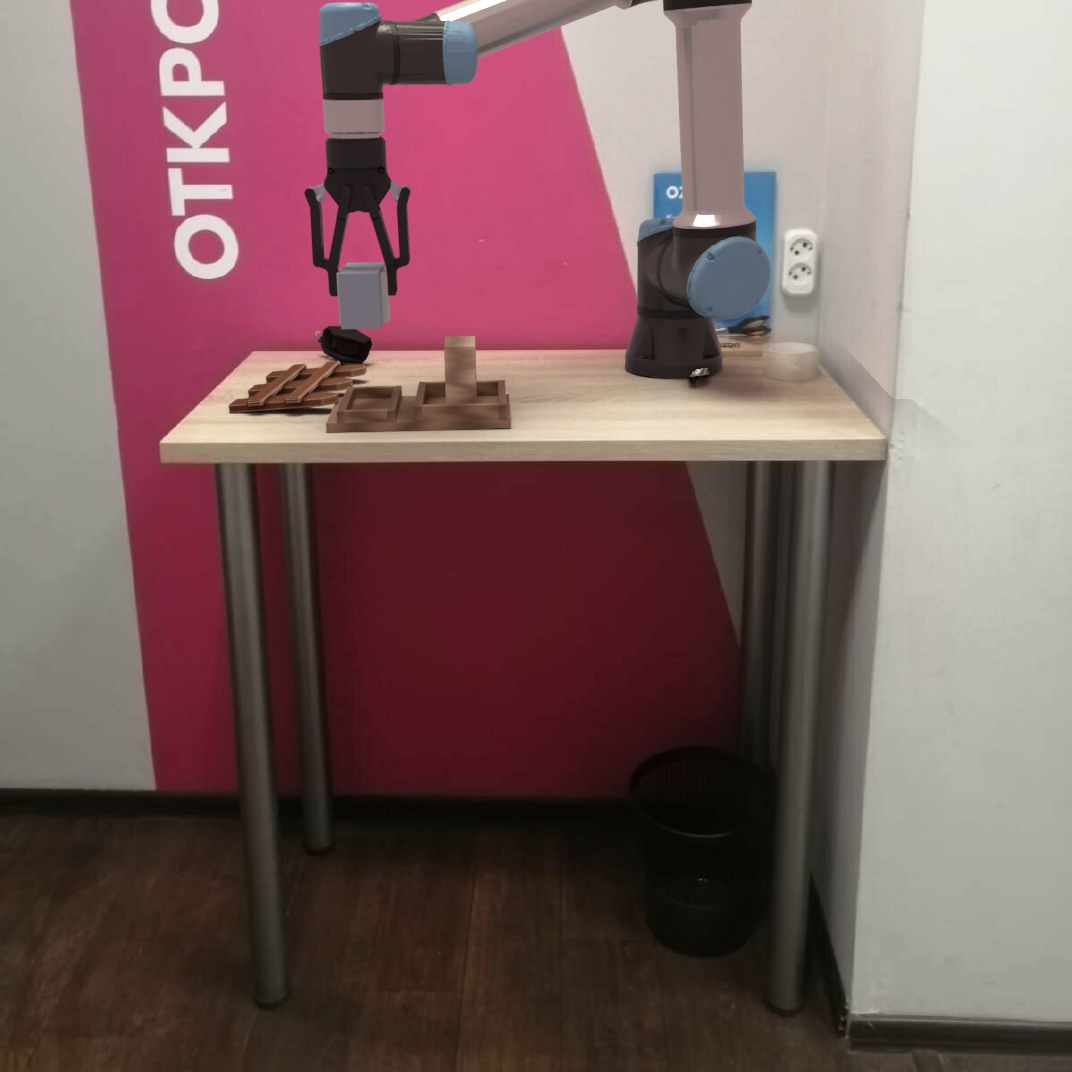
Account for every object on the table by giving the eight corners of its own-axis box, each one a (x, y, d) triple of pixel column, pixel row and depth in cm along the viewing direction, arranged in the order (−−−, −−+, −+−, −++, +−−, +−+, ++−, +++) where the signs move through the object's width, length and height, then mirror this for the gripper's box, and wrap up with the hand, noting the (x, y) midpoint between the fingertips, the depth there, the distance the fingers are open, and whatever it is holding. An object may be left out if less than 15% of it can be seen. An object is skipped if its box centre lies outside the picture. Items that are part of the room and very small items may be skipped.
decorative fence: (226, 415, 174) (333, 407, 172) (224, 402, 173) (331, 394, 172) (275, 377, 196) (369, 369, 194) (273, 366, 195) (368, 358, 193)
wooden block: (477, 400, 175) (475, 335, 172) (476, 413, 168) (474, 346, 165) (448, 401, 175) (445, 336, 172) (446, 414, 168) (443, 346, 165)
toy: (369, 340, 214) (380, 332, 199) (360, 377, 214) (369, 372, 199) (316, 325, 211) (322, 315, 197) (306, 362, 211) (312, 355, 197)
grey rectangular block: (387, 314, 172) (385, 262, 169) (380, 328, 162) (377, 273, 160) (350, 314, 172) (347, 262, 169) (341, 329, 162) (337, 274, 160)
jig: (509, 402, 179) (508, 380, 178) (510, 428, 166) (510, 404, 165) (338, 405, 178) (336, 383, 177) (326, 432, 165) (324, 408, 164)
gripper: (428, 133, 163) (434, 314, 171) (287, 135, 162) (300, 316, 170) (425, 136, 156) (432, 325, 164) (278, 138, 155) (292, 327, 163)
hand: (365, 320), depth 167 cm, fingers closed on grey rectangular block, 5 cm apart
